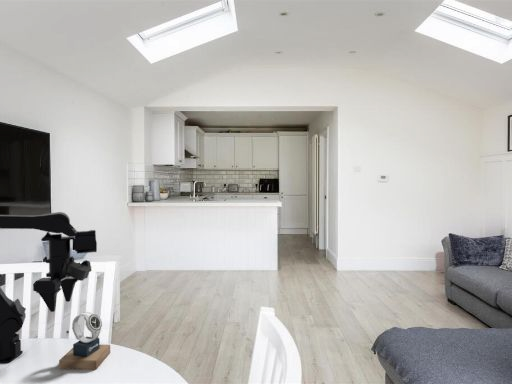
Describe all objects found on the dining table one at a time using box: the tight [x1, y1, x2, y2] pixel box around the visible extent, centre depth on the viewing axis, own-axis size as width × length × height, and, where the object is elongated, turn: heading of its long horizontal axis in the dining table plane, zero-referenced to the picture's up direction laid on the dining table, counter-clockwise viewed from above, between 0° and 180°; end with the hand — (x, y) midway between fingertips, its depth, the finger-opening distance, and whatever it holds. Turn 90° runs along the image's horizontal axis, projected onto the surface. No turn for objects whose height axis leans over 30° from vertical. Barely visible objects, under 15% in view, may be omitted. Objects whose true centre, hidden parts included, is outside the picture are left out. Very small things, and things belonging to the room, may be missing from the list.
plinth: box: [58, 344, 111, 371], centre depth 111 cm, size 10×10×2 cm
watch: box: [71, 311, 103, 357], centre depth 110 cm, size 6×8×11 cm
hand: (60, 306), depth 118 cm, fingers open, 9 cm apart
